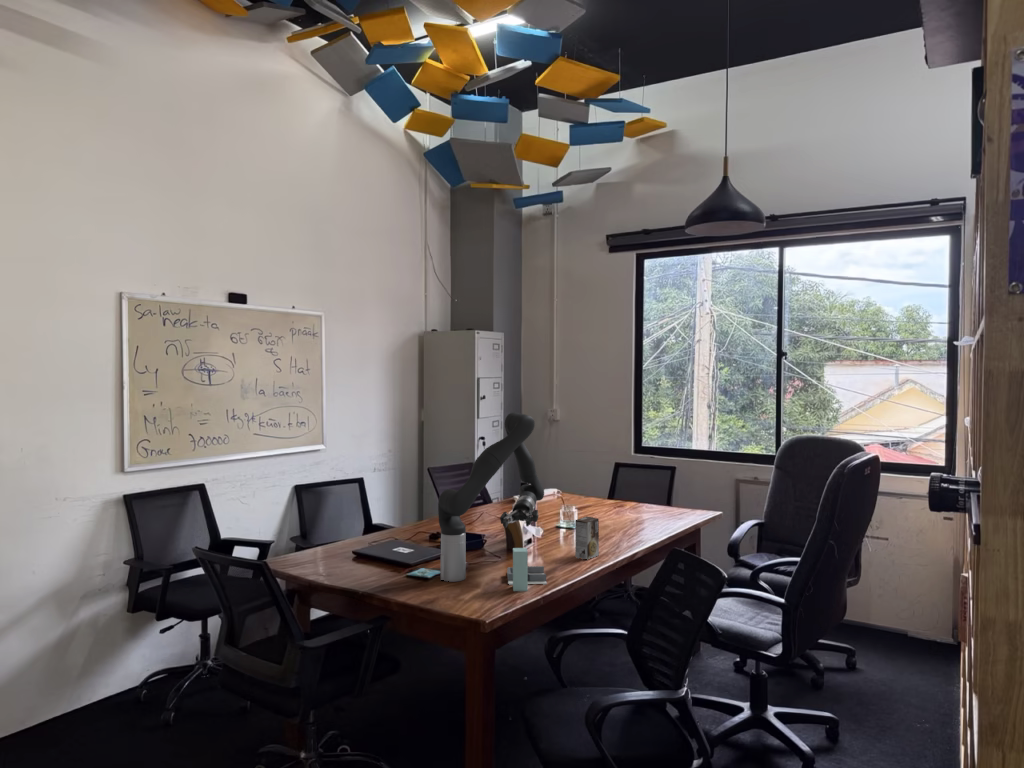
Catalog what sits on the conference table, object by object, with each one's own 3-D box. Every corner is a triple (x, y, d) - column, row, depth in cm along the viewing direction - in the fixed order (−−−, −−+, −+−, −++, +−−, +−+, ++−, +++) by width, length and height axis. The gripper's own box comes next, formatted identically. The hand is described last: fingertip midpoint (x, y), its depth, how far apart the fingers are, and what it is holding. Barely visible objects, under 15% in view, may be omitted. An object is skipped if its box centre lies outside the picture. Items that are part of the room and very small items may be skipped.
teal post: (513, 591, 234) (513, 551, 234) (512, 586, 239) (512, 548, 239) (527, 590, 234) (527, 551, 234) (526, 586, 239) (526, 547, 239)
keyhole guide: (508, 584, 241) (508, 576, 241) (507, 572, 256) (507, 565, 256) (546, 584, 241) (546, 576, 241) (543, 572, 256) (543, 564, 256)
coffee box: (586, 553, 284) (586, 516, 284) (599, 556, 280) (599, 518, 280) (574, 557, 277) (574, 519, 277) (587, 560, 273) (587, 521, 273)
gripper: (505, 500, 263) (495, 516, 247) (540, 497, 260) (532, 514, 244) (508, 517, 264) (499, 535, 249) (542, 515, 261) (535, 533, 246)
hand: (515, 524), depth 247 cm, fingers open, 8 cm apart
